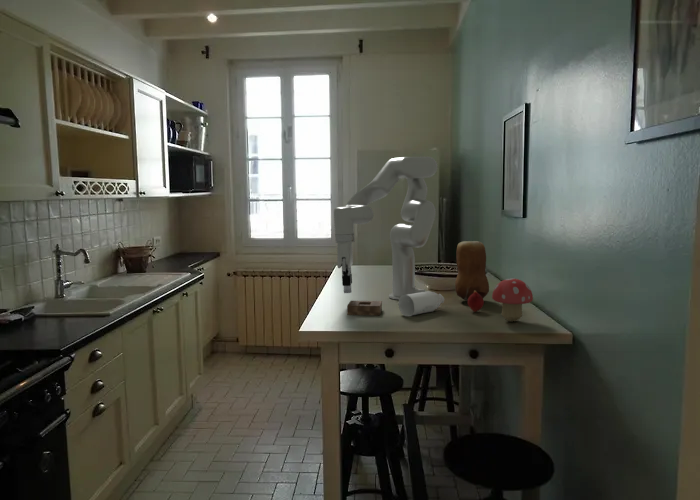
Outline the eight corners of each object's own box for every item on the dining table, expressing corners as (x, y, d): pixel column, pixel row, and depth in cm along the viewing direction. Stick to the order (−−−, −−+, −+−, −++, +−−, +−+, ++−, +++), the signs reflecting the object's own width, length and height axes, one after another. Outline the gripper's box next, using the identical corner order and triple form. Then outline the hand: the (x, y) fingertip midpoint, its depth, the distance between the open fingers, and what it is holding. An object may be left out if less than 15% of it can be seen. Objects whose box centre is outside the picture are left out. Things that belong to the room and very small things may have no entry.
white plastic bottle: (448, 311, 197) (449, 290, 196) (413, 318, 186) (413, 296, 185) (433, 307, 203) (433, 287, 203) (398, 314, 192) (398, 293, 191)
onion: (484, 310, 196) (484, 289, 196) (482, 314, 191) (483, 292, 190) (468, 309, 198) (468, 289, 197) (466, 313, 193) (466, 291, 192)
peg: (352, 291, 207) (350, 266, 206) (350, 293, 205) (349, 268, 203) (344, 291, 208) (343, 266, 207) (343, 293, 205) (342, 268, 204)
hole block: (381, 310, 199) (381, 301, 199) (379, 315, 191) (379, 306, 190) (350, 309, 201) (350, 300, 201) (347, 314, 192) (347, 305, 192)
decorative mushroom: (504, 315, 189) (505, 274, 187) (539, 321, 179) (540, 278, 177) (483, 321, 180) (484, 278, 178) (519, 328, 170) (520, 283, 168)
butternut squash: (471, 296, 223) (471, 238, 220) (495, 302, 212) (496, 240, 209) (447, 300, 215) (447, 240, 212) (471, 306, 204) (472, 242, 201)
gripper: (338, 236, 212) (341, 280, 214) (331, 241, 196) (334, 289, 198) (357, 235, 211) (359, 280, 213) (351, 240, 195) (353, 288, 197)
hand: (347, 284), depth 206 cm, fingers closed on peg, 3 cm apart
